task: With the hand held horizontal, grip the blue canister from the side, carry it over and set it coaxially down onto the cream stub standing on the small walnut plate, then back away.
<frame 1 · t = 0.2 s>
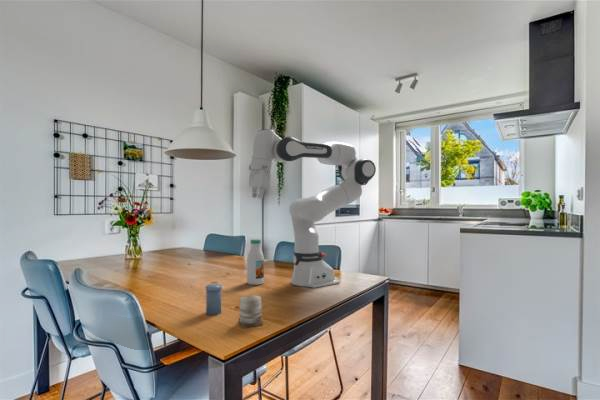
hand: (257, 198, 133), 39 cm above the table, tool pointing down, fingers open, 8 cm apart
blue canister: (213, 312, 102), on the table
stub stand: (250, 322, 93), on the table
milk bottle: (255, 283, 140), on the table
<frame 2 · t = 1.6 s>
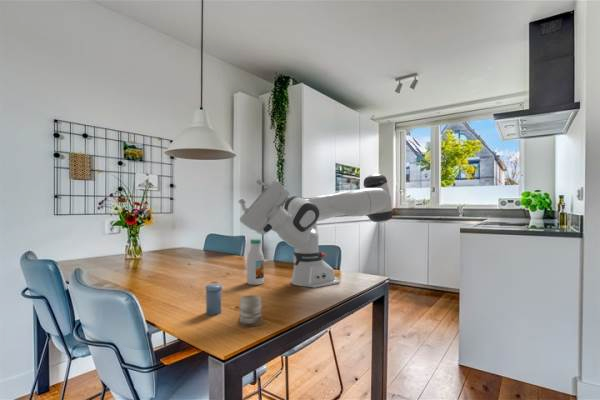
hand: (248, 190, 108), 41 cm above the table, tool pointing upward, fingers open, 8 cm apart
nothing on the table moved.
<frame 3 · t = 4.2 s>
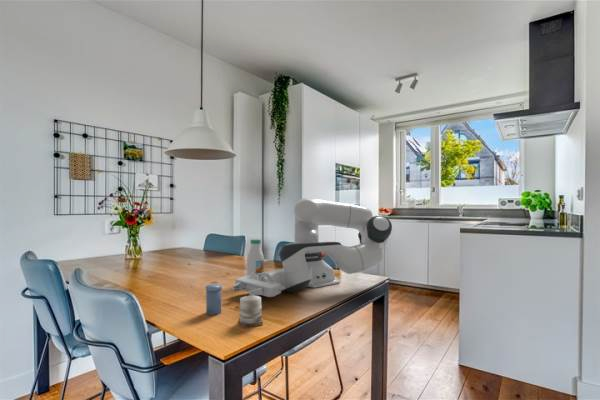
hand: (241, 290, 111), 5 cm above the table, tool horizontal, fingers open, 8 cm apart
nothing on the table moved.
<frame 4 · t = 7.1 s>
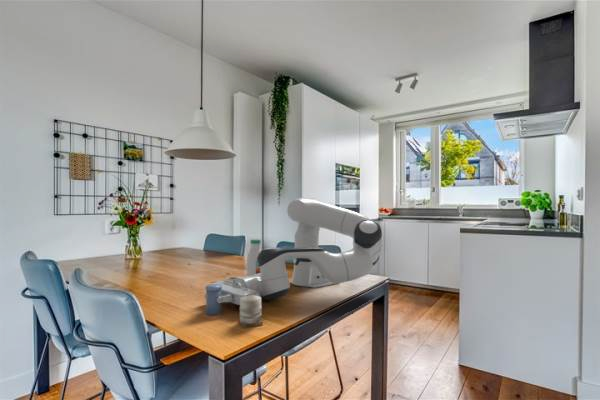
hand: (211, 298, 101), 5 cm above the table, tool horizontal, fingers closed on blue canister, 5 cm apart
blue canister: (213, 312, 102), on the table, touching gripper
everything else where it was.
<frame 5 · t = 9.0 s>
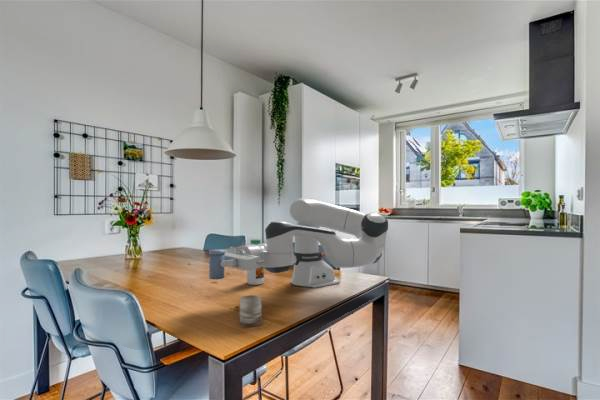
hand: (214, 262, 100), 17 cm above the table, tool horizontal, fingers closed on blue canister, 5 cm apart
blue canister: (216, 277, 101), point 12 cm above the table, touching gripper
everything else where it was.
when the fingers open (14 cm above the table, at t = 11.2 s): blue canister drops 1 cm, resting on stub stand.
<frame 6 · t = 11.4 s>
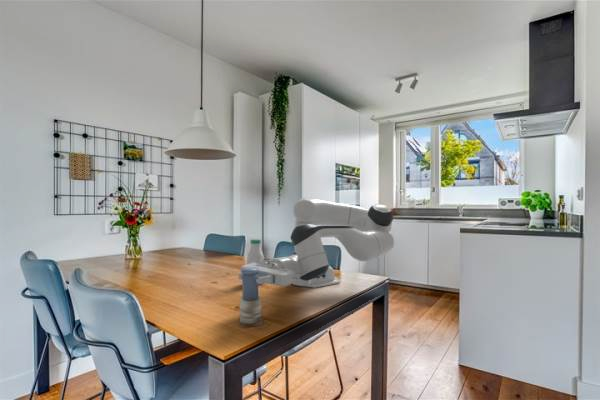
hand: (248, 278, 93), 14 cm above the table, tool horizontal, fingers open, 7 cm apart
blue canister: (250, 298, 93), point 7 cm above the table, touching stub stand
everything else where it was.
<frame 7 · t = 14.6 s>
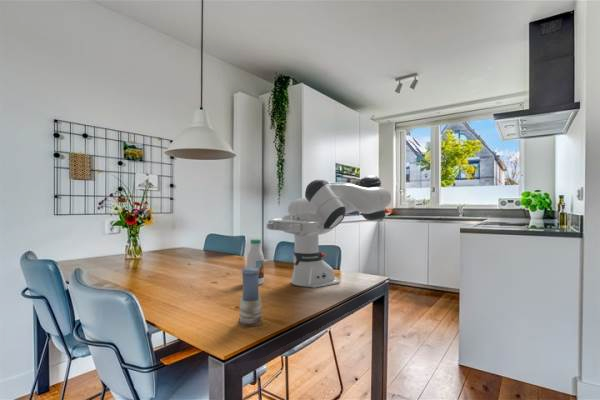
hand: (277, 227, 103), 29 cm above the table, tool horizontal, fingers open, 8 cm apart
nothing on the table moved.
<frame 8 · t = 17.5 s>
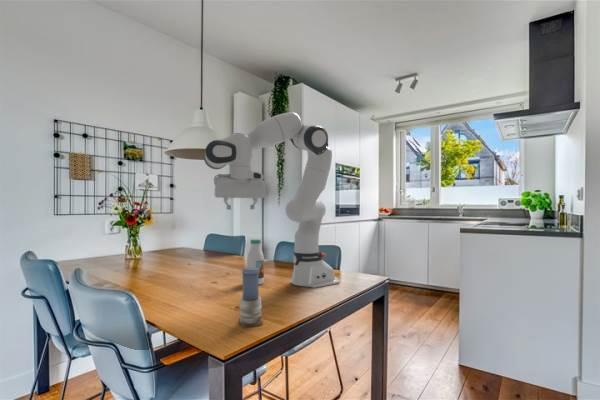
hand: (240, 209, 122), 34 cm above the table, tool pointing down, fingers open, 8 cm apart
nothing on the table moved.
at the end: blue canister 0.1 cm off-centre on the stub stand, point 7.4 cm above the stub stand's base; blue canister tilted 0°; the gripper is holding nothing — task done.
